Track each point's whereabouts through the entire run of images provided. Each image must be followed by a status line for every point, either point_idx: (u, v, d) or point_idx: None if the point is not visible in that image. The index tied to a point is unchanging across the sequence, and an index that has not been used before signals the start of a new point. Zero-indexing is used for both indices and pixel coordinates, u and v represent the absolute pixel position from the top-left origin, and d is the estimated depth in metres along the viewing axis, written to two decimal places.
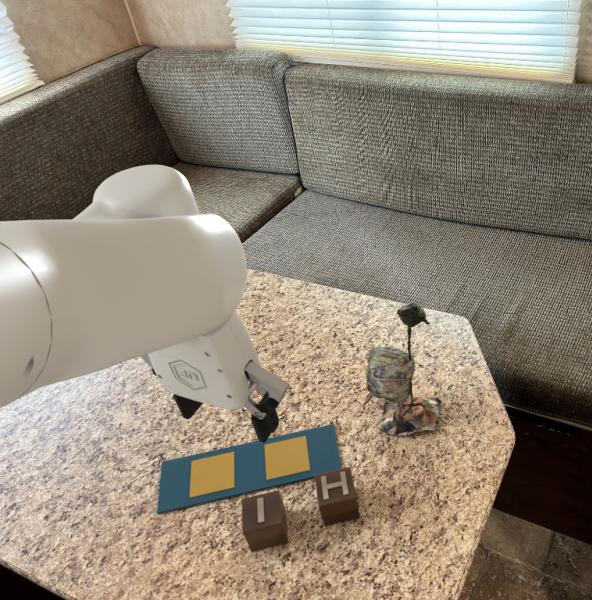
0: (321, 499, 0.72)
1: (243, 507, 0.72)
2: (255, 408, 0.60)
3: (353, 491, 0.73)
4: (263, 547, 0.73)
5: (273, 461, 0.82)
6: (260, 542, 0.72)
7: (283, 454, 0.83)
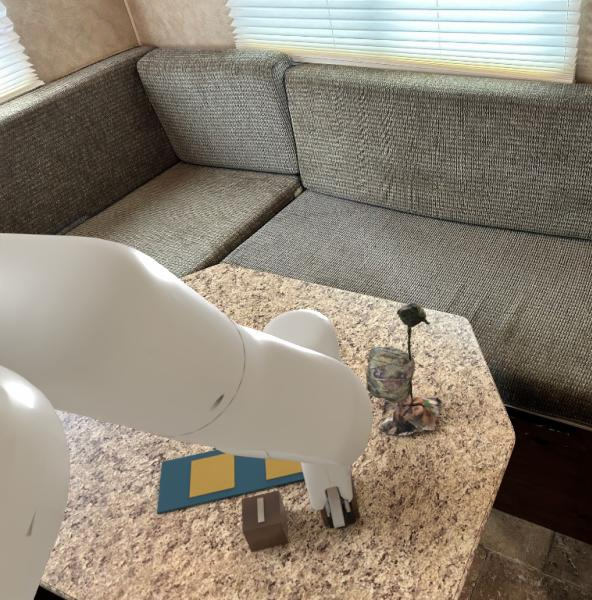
0: None
1: (243, 507, 0.72)
2: (326, 510, 0.70)
3: (353, 491, 0.73)
4: (263, 547, 0.73)
5: (273, 461, 0.82)
6: (260, 542, 0.72)
7: None
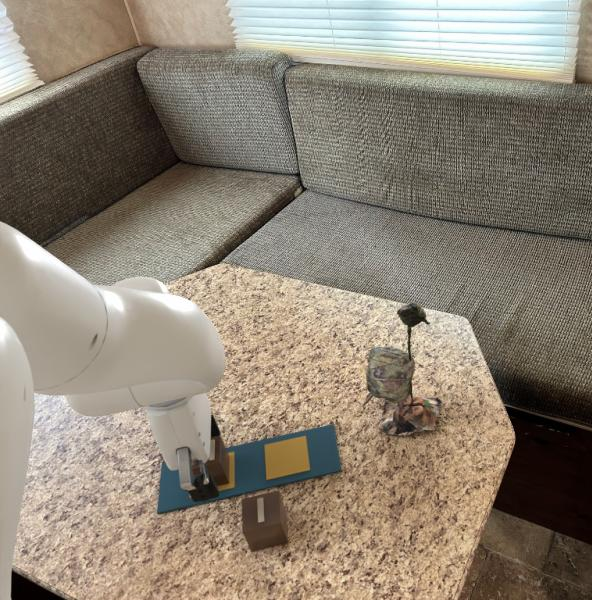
0: None
1: (243, 507, 0.72)
2: None
3: (219, 457, 0.78)
4: (263, 547, 0.73)
5: (273, 461, 0.82)
6: (260, 542, 0.72)
7: (283, 454, 0.83)
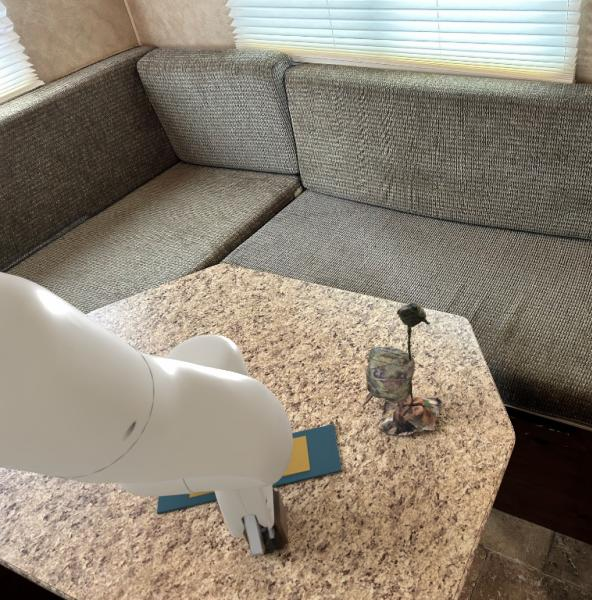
0: None
1: None
2: None
3: None
4: None
5: None
6: None
7: None
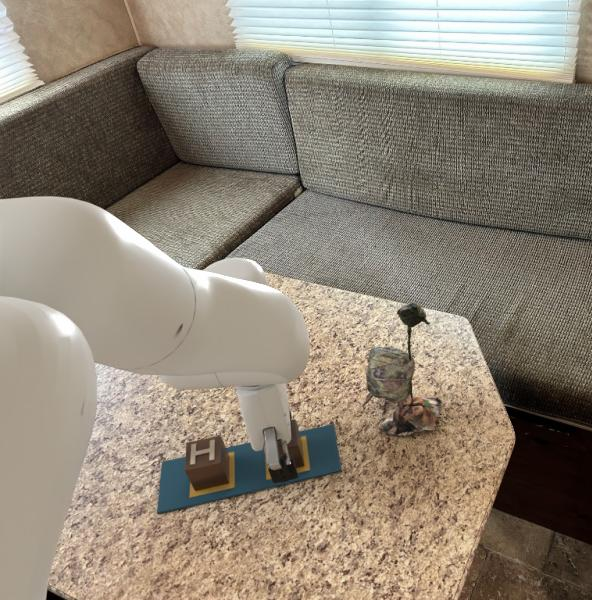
0: (188, 464, 0.77)
1: None
2: (266, 458, 0.73)
3: (219, 457, 0.78)
4: None
5: None
6: None
7: None
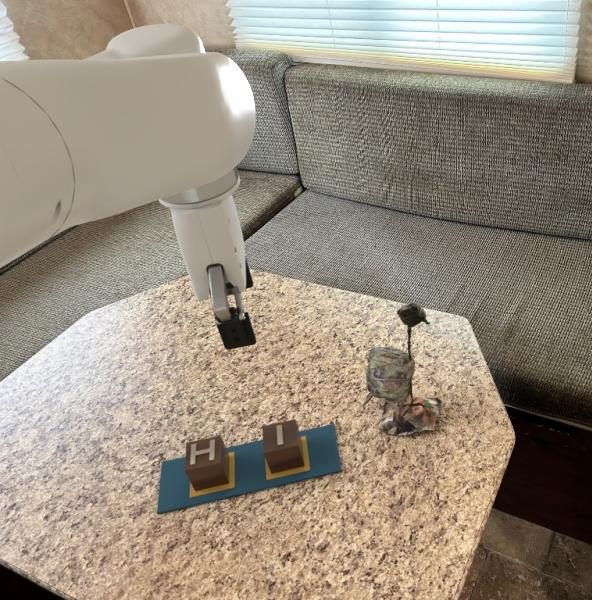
0: (188, 464, 0.77)
1: (264, 433, 0.80)
2: (213, 310, 0.58)
3: (219, 457, 0.78)
4: (282, 469, 0.80)
5: None
6: (279, 464, 0.80)
7: None
